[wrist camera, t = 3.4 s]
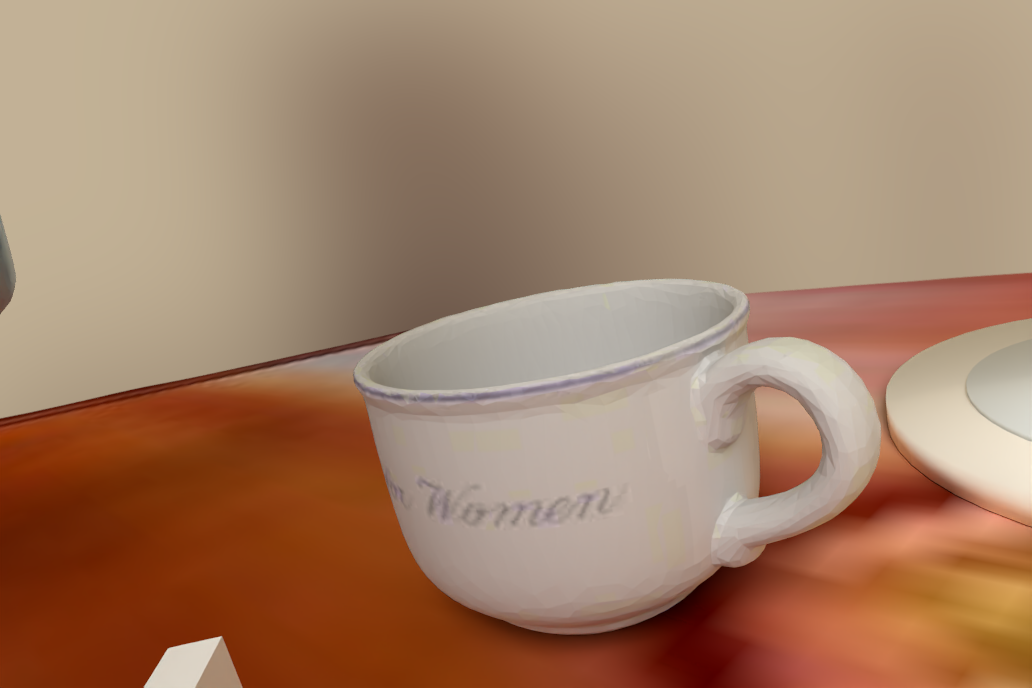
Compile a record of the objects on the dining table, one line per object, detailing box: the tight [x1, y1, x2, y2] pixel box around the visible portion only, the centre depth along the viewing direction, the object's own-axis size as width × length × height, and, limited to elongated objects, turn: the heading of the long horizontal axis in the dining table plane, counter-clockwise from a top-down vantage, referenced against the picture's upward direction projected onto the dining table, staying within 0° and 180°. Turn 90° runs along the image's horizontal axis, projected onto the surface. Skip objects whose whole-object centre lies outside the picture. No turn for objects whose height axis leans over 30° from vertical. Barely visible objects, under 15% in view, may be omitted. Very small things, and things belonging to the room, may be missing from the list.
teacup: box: [353, 279, 881, 635], centre depth 20 cm, size 14×11×8 cm
